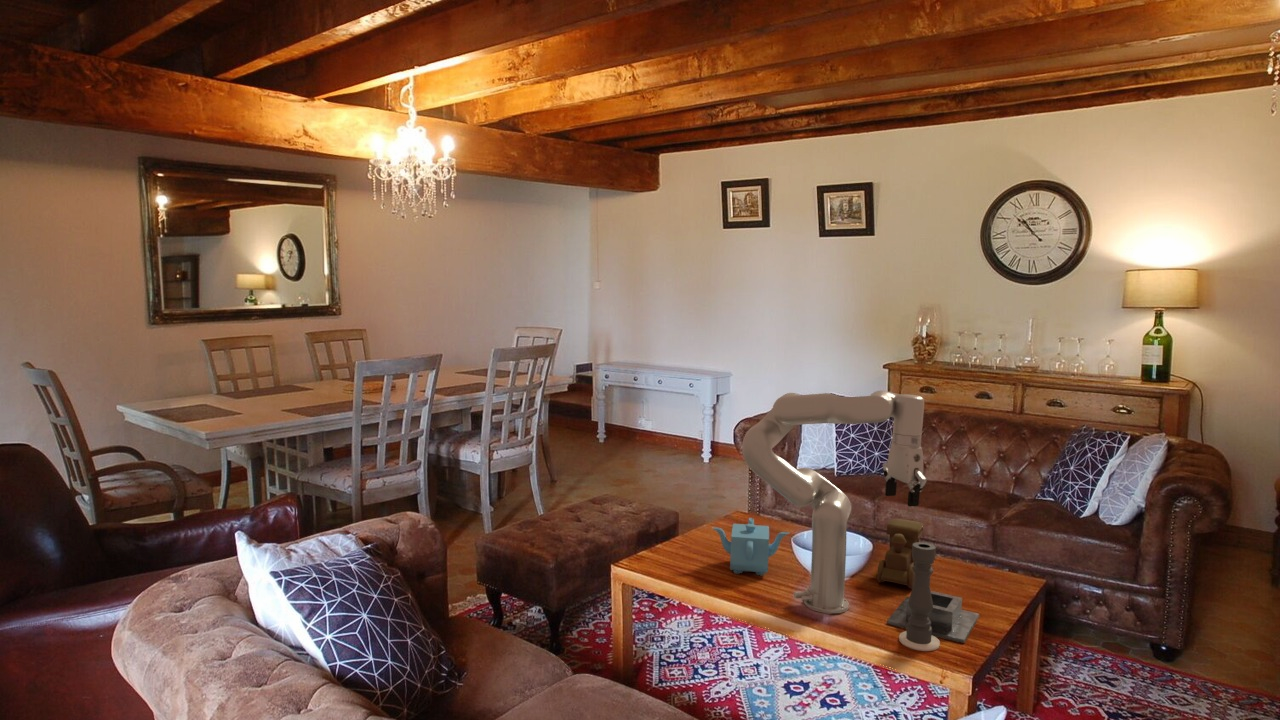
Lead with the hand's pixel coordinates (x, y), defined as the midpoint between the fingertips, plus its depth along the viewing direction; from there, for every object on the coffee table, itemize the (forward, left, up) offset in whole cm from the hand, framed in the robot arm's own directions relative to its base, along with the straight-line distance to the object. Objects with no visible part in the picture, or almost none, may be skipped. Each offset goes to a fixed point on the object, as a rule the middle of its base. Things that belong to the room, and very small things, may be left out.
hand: (901, 500), depth 217 cm
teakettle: (-30, +40, -34) cm, 61 cm away
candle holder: (-1, -15, -33) cm, 36 cm away
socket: (+10, -4, -33) cm, 35 cm away
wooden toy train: (+15, +27, -34) cm, 45 cm away
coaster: (-1, -16, -33) cm, 37 cm away
